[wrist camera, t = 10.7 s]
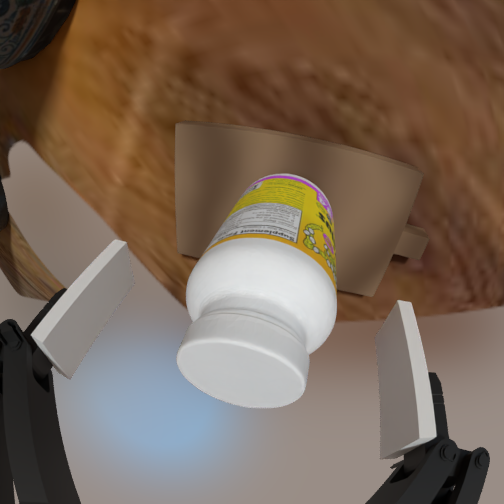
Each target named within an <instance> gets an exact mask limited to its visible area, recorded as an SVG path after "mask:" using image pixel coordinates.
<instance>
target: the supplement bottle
mask: <svg viewBox="0 0 504 504" xmlns="http://www.w3.org/2000/svg"><path fill="white" fill-rule="evenodd" d="M186 303H187V309H188V312H189V315H190V317H191V319H192V322H193V323H192V324H191V325H190V326H189V327H188V329H187V331H186V334H185V336H184V339H183V341H182V343H181V345H180V347H179V350H178V352H177V357H176V360H177V365H178V367H179V370H180V371H181V373H182V374H183V376H184V377H185V378H186V379H187V380H188V381H189V382H190V383H191V384H193V385H194V386H195V387H196V388H198V389H199V390H201V391H203V392H204V393H206V394H208V395H210V396H212V397H214V398H216V399H219V400H221V401H224V402H227V403H230V404H234V405H238V406H243V407H251V408H275V407H280V406H285V405H288V404H290V403H292V402H294V401H296V400H297V399H298V398H300V397H301V396H302V394H303V393H304V391H305V388H306V383H307V376H308V368H309V363H310V362H309V354H311V353H312V352H313V351H315V350H316V349H318V348H319V347H320V346H321V345H322V344H323V343H324V341H325V340H326V339H327V337H328V336H329V334H330V333H331V331H332V328H333V326H334V323H335V319H336V313H337V284H336V250H335V234H334V221H333V214H332V209H331V206H330V204H329V201H328V200H327V198H326V196H325V195H324V193H323V192H322V191H321V190H320V189H319V188H318V187H317V186H316V185H315V184H313V183H312V182H310V181H309V180H307V179H305V178H302V177H300V176H297V175H293V174H273V175H269V176H265V177H263V178H261V179H259V180H257V181H255V182H254V183H253V184H252V185H250V186H249V187H248V188H247V189H246V191H245V192H244V193H243V194H242V196H241V197H240V199H239V200H238V202H237V203H236V205H235V206H234V208H233V209H232V211H231V212H230V214H229V215H228V216H227V218H226V220H225V221H224V223H223V224H222V226H221V227H220V229H219V230H218V232H217V233H216V235H215V237H214V238H213V240H212V241H211V243H210V244H209V246H208V247H207V249H206V250H205V252H204V253H203V255H202V256H201V258H200V259H199V261H198V262H197V264H196V266H195V267H194V269H193V271H192V273H191V275H190V277H189V280H188V283H187V289H186Z"/></svg>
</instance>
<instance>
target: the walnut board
mask: <svg viewBox="0 0 504 504" xmlns="http://www.w3.org/2000/svg"><path fill="white" fill-rule="evenodd" d="M273 174H293V175H297V176H300V177H302V178H305V179H307V180H309V181H310V182H312V183H313V184H315V185H316V186H317V187H318V188H319V189H320V190H321V191H322V192H323V193H324V195H325V196H326V198H327V200H328V201H329V204H330V206H331V209H332V214H333V221H334V234H335V250H336V284H337V290H342V291H347V292H351V293H356V294H361V295H366V296H370V297H373V295H374V293H375V291H376V290H377V288H378V285H379V283H380V281H381V279H382V277H383V275H384V273H385V271H386V269H387V267H388V265H389V262H390V260H391V258H392V256H393V254H397V255H401V256H405V257H408V258H412V259H416V260H420V258H421V256H422V254H423V252H424V250H425V247H426V245H427V243H428V241H429V237H428V235H427V234H426V232H425V230H424V229H422V228H419V227H416V226H412V225H409V224H406V222H407V220H408V217H409V215H410V212H411V209H412V207H413V204H414V201H415V198H416V196H417V193H418V190H419V187H420V184H421V181H422V178H423V175H424V174H423V173H422V172H421V171H420V170H419V169H418V168H417V167H415V166H412V165H409V164H406V163H403V162H400V161H397V160H394V159H391V158H388V157H384V156H381V155H378V154H374V153H371V152H368V151H364V150H360V149H357V148H353V147H349V146H345V145H341V144H337V143H333V142H329V141H324V140H320V139H315V138H311V137H306V136H301V135H296V134H290V133H285V132H279V131H273V130H267V129H260V128H253V127H246V126H238V125H230V124H220V123H210V122H198V121H183V122H180V123H177V124H176V129H175V205H176V232H177V251H178V253H180V254H184V255H188V256H192V257H196V258H201V256H202V255H203V253H204V252H205V250H206V249H207V247H208V246H209V244H210V243H211V241H212V240H213V238H214V237H215V235H216V233H217V232H218V230H219V229H220V227H221V226H222V224H223V223H224V221H225V220H226V218H227V216H228V215H229V214H230V212H231V211H232V209H233V208H234V206H235V205H236V203H237V202H238V200H239V199H240V197H241V196H242V194H243V193H244V192H245V191H246V189H247V188H248V187H249V186H250V185H252V184H253V183H254V182H255V181H257V180H259V179H261V178H263V177H265V176H269V175H273Z"/></svg>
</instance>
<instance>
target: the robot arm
mask: <svg viewBox="0 0 504 504" xmlns="http://www.w3.org/2000/svg"><path fill="white" fill-rule="evenodd" d="M7 222H8V208H7V202H6V197H5V192H4V189H3V185H2V182H1V179H0V231H1V230H2V229H4V228H5V227H6V225H7ZM134 284H135V282H134V277H133V272H132V268H131V263H130V257H129V252H128V247H127V242H124V241H119V240H114V241H113V242H112V243H111V244H110V245H109V246H108V247H107V248H106V249H105V250H104V251H103V252H102V253H101V254H100V255H99V256H98V257H97V258H96V259H95V260H94V261H93V262H92V263H91V264H90V265H89V266H88V267H87V269H86V270H85V271H84V272H83V273H82V274H81V275H80V276H79V277H78V278H77V279H76V281H75V282H74V283H73V284H72V285H71V286H70V287H69V289H65V288H63V289H62V290H60V291H59V292H57V293H56V294H55V295H54V296H53V297H52V298H51V299H50V300H49V303H47V304H46V305H45V307H44V308H43V309H42V310H41V311H40V312H39V314H38V315H37V316H36V317H35V319H34V320H33V321H32V322H31V324H30V325H29V326H28V327H27V329H26V330H25V331H24V332H22V330H21V328H20V327H19V325H18V324H17V322H16V321H15V320H13V319H7V320H5V321H4V322H2V323H1V324H0V504H15V499H14V488H13V481H14V485H15V488H16V492H17V496H18V499H19V504H81V502H80V499H79V497H78V494H77V491H76V488H75V485H74V482H73V479H72V475H71V472H70V469H69V465H68V461H67V458H66V454H65V450H64V445H63V441H62V437H61V432H60V426H59V421H58V415H57V409H56V402H55V394H54V387H53V386H54V385H53V375H52V371H51V368H52V366H54V368H55V369H56V370H57V371H58V372H59V373H60V374H62V375H63V376H65V377H67V378H68V379H71V378H72V376H73V374H74V373H75V371H76V369H77V368H78V366H79V365H80V363H81V361H82V360H83V358H84V357H85V355H86V353H87V352H88V350H89V349H90V347H91V346H92V344H93V342H94V341H95V340H96V338H97V337H98V335H99V334H100V332H101V331H102V329H103V328H104V326H105V325H106V323H107V322H108V320H109V319H110V318H111V316H112V315H113V313H114V312H115V310H116V309H117V308H118V306H119V305H120V303H121V302H122V301H123V299H124V298H125V297H126V295H127V294H128V292H129V291H130V290H131V288H132V287H133V286H134ZM375 344H376V354H377V365H378V377H379V394H380V421H381V422H380V427H381V441H380V442H381V443H380V459H394V458H398V457H400V456H402V455H404V460H402V461H400V462H398V463H396V464H394V465H393V466H392V467H390V468H392V469H393V468H395V467H397V468H396V469H395V470H394V471H393V473H392V474H391V475H390V476H389V478H388V479H387V480H386V481H385V482H384V484H383V485H382V486H381V487H380V488H379V490H377V492H376V493H375V494H374V495H373V496H372V497H371V498H370V499H369V500H368V501H367V502H366V503H365V504H477V503H478V501H479V498H480V494H481V492H482V489H483V485H484V482H485V478H486V475H487V471H488V467H489V462H490V457H489V453H488V451H487V450H486V449H485V448H482V447H480V448H477V449H475V450H474V451H472V452H471V451H467V450H463V449H459V448H458V447H457V445H456V443H455V442H454V441H453V440H451V439H449V435H448V427H447V419H446V412H445V405H444V398H443V396H442V394H443V392H442V387H441V382H440V380H439V379H438V377H437V375H436V373H431V372H428V371H427V365H426V360H425V356H424V351H423V347H422V342H421V338H420V334H419V330H418V326H417V322H416V318H415V315H414V311H413V308H412V304H411V302H405V301H400V300H397V302H396V304H395V306H394V307H393V309H392V311H391V312H390V314H389V315H388V317H387V319H386V320H385V322H384V324H383V325H382V327H381V328H380V330H379V331H378V333H377V335H376V336H375ZM454 486H455V487H454ZM453 488H454V490H453Z"/></svg>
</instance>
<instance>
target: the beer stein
mask: <svg viewBox="0 0 504 504" xmlns="http://www.w3.org/2000/svg"><path fill="white" fill-rule="evenodd" d="M75 1H76V0H0V69H4V68H8V67H10V66H12V65H14V64H16V63H18V62H20V61H23V60H27V59H30V58H33V57H34V56H35V55H37V54H38V53H39V52H40V51H41V50H42V49H44V48H45V47H46V46H47V45H48V44H50V43H51V41H52V40H53V38H54V36H55V35H56V33H57V32H58V30H59V29H60V27H61V26H62V25H63V23H64V22H65V20H66V19H67V18H68V16H69V14H70V11H71V9H72V7H73V5H74V3H75Z"/></svg>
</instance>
